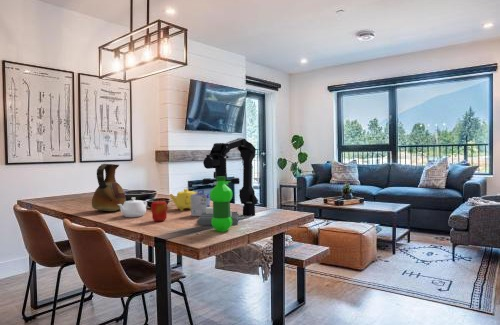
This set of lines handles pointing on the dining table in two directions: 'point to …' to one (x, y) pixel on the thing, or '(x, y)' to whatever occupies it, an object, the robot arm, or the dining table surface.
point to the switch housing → (206, 218)
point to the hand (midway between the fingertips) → (221, 198)
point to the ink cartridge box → (199, 203)
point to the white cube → (209, 210)
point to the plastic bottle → (221, 205)
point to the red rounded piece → (159, 210)
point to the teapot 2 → (183, 199)
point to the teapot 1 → (133, 208)
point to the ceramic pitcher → (108, 190)
